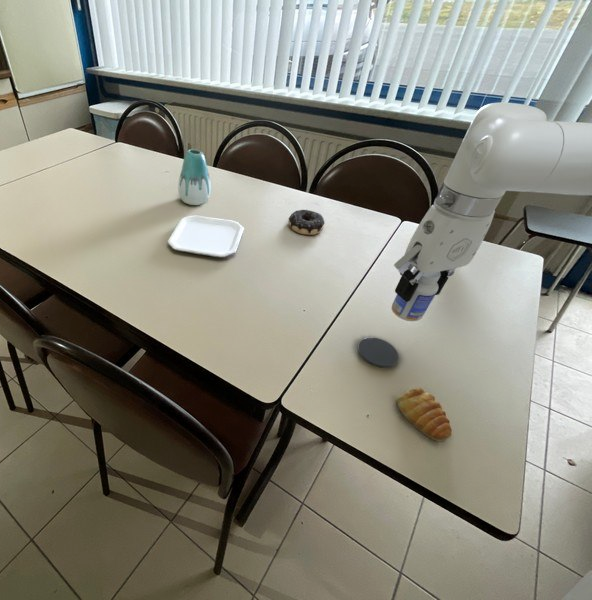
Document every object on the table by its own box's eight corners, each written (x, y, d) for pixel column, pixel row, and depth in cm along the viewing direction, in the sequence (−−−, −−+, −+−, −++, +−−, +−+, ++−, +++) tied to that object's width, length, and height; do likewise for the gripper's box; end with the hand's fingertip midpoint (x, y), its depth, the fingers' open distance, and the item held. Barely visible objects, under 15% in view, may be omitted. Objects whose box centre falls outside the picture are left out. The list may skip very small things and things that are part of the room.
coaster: (405, 362, 77) (407, 361, 76) (373, 371, 75) (374, 369, 75) (380, 336, 82) (381, 334, 82) (350, 343, 81) (351, 341, 80)
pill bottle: (425, 311, 69) (449, 269, 62) (417, 326, 66) (442, 284, 59) (395, 298, 71) (415, 257, 65) (386, 313, 68) (407, 271, 62)
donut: (319, 219, 122) (322, 208, 120) (325, 237, 113) (329, 226, 111) (286, 217, 123) (288, 206, 120) (289, 236, 114) (292, 224, 112)
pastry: (458, 436, 64) (469, 425, 62) (427, 447, 63) (437, 436, 60) (418, 393, 71) (426, 381, 69) (389, 402, 70) (396, 390, 67)
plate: (184, 219, 122) (184, 213, 121) (245, 228, 118) (246, 221, 116) (163, 252, 107) (163, 246, 106) (233, 264, 103) (233, 257, 101)
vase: (215, 197, 134) (217, 147, 122) (202, 211, 126) (203, 159, 114) (186, 191, 138) (186, 142, 126) (172, 204, 130) (170, 153, 118)
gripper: (438, 219, 49) (390, 316, 61) (535, 202, 53) (471, 297, 65) (399, 195, 54) (362, 289, 66) (490, 181, 58) (438, 273, 70)
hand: (416, 292), depth 65 cm, fingers closed on pill bottle, 5 cm apart
